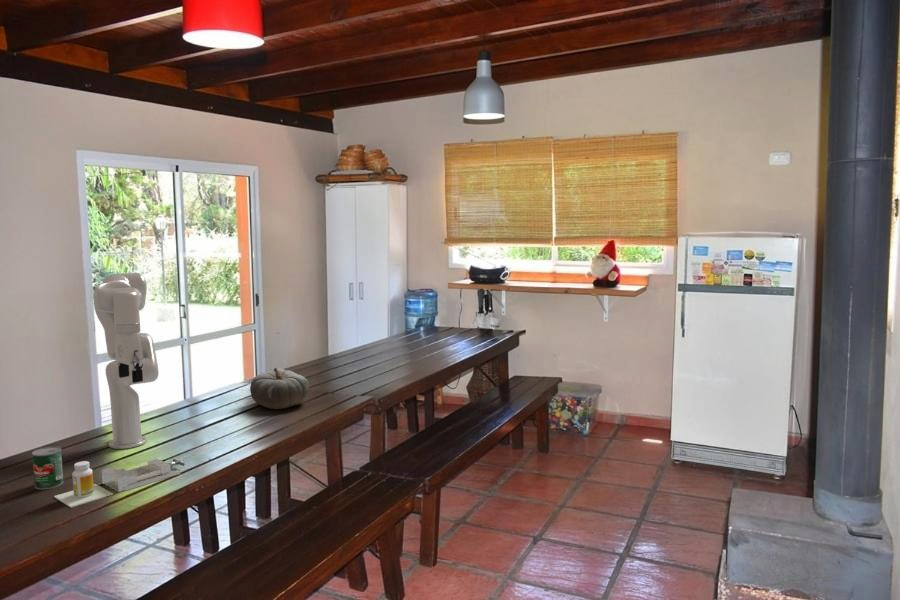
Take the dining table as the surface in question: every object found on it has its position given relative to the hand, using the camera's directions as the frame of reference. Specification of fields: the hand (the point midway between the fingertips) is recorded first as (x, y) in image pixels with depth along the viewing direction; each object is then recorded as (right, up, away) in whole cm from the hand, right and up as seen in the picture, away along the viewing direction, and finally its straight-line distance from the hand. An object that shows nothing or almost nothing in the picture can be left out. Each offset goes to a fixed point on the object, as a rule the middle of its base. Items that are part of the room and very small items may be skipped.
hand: (130, 379), depth 228 cm
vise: (+8, -31, -7) cm, 32 cm away
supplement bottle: (-4, -32, -21) cm, 39 cm away
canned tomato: (-20, -32, -12) cm, 40 cm away
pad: (-4, -33, -22) cm, 39 cm away
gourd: (+31, -21, +77) cm, 86 cm away
